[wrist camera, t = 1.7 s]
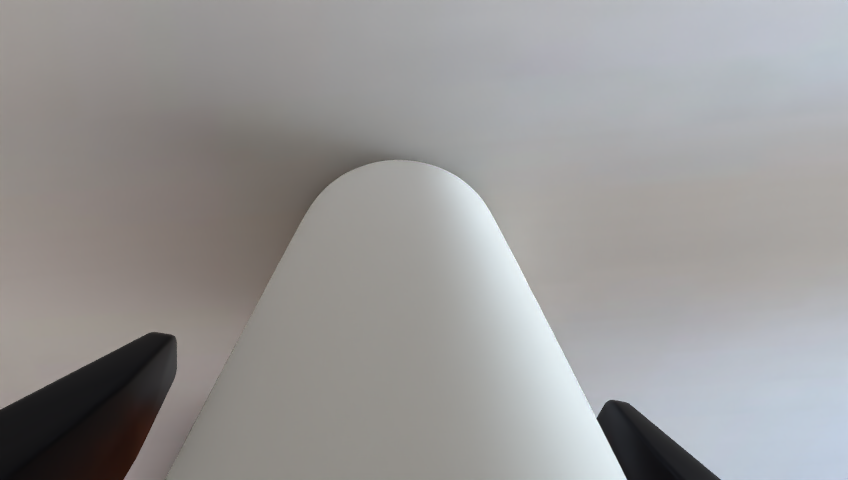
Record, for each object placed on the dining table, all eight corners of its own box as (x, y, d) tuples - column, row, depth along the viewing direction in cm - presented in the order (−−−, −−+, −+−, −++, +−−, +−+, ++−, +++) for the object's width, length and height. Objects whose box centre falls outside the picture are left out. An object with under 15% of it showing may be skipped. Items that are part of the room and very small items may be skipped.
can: (285, 308, 15) (-31, 1063, 4) (321, 127, 12) (-329, 907, 1) (459, 345, 16) (586, 1011, 5) (527, 187, 13) (1094, 873, 2)
